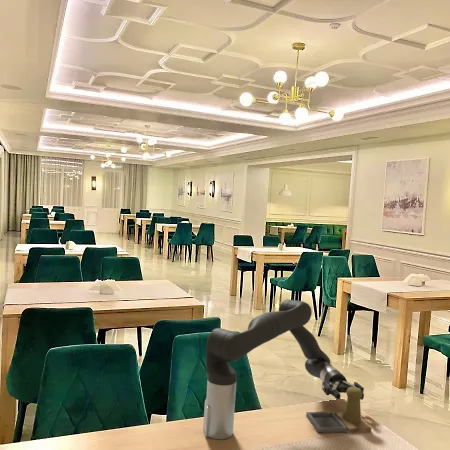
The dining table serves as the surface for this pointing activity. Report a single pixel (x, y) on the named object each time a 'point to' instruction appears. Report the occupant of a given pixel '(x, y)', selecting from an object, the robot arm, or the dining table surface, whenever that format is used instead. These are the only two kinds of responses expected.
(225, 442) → the dining table surface
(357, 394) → the cork
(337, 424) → the shallow grey tray
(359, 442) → the dining table surface
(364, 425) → the light brown wooden board
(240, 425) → the dining table surface
